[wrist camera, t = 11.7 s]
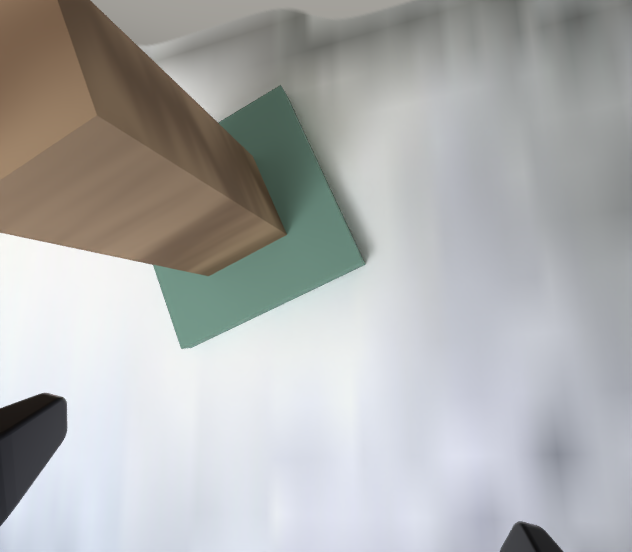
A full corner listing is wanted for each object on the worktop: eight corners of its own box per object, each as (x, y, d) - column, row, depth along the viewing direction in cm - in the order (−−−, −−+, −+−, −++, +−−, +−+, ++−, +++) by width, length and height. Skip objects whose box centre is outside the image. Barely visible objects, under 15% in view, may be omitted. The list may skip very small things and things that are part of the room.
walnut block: (287, 234, 21) (97, 115, 9) (208, 276, 22) (-60, 219, 10) (252, 156, 22) (41, -47, 10) (179, 199, 23) (-95, 62, 11)
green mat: (365, 264, 20) (362, 261, 19) (191, 347, 23) (181, 348, 22) (286, 95, 23) (280, 85, 22) (135, 185, 25) (124, 179, 24)
